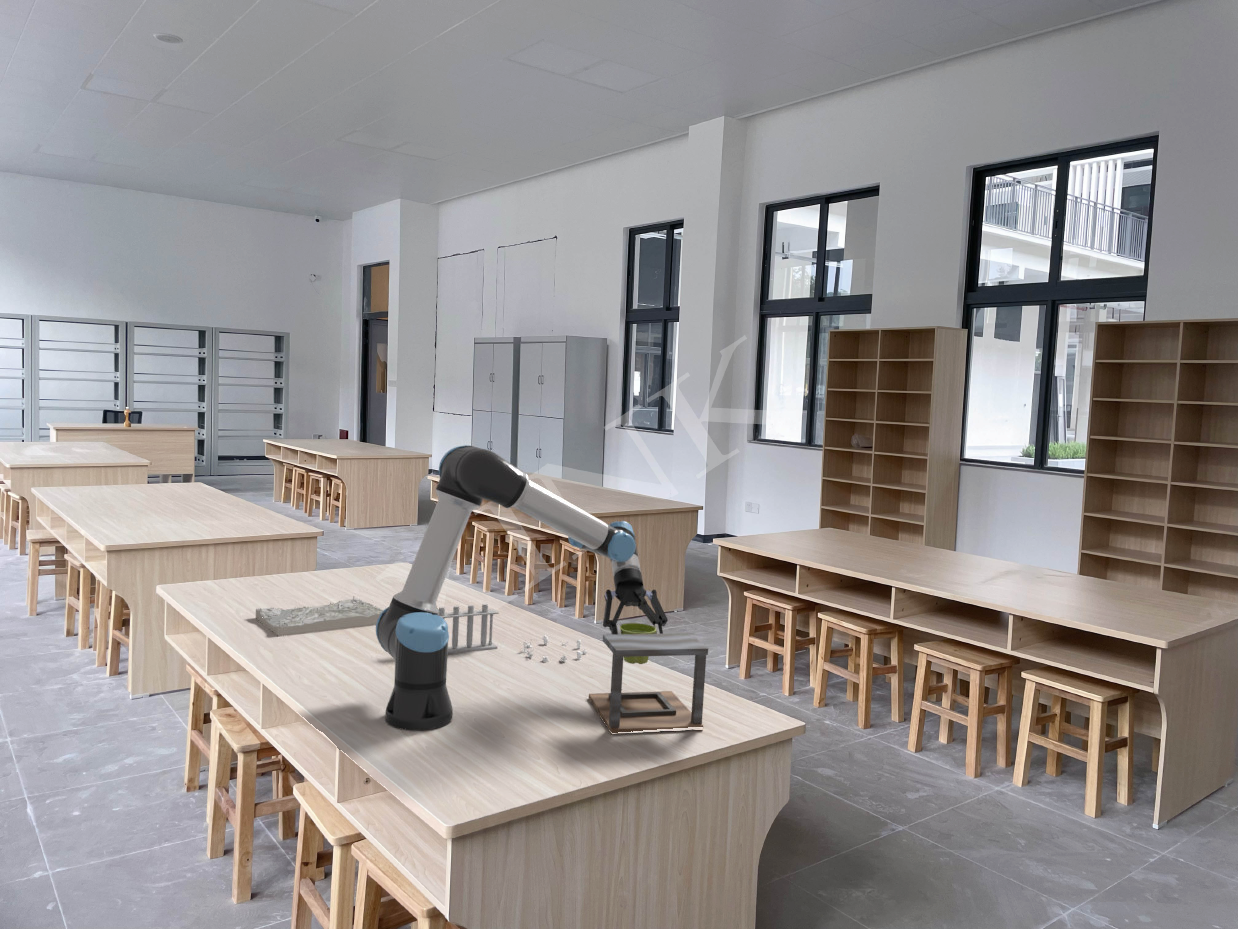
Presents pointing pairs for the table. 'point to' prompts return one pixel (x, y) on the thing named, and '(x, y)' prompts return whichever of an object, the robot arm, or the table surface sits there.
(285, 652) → the table surface
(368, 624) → the topographic model
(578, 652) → the game piece set
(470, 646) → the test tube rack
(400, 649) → the robot arm
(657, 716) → the roofed stand
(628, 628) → the plant pot
